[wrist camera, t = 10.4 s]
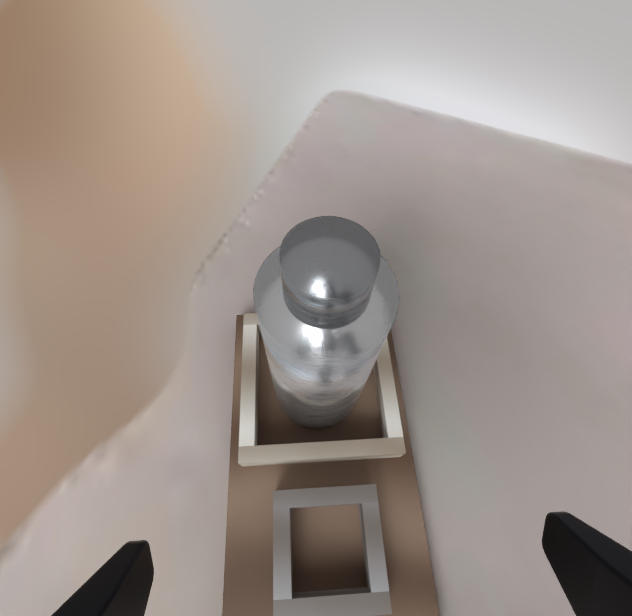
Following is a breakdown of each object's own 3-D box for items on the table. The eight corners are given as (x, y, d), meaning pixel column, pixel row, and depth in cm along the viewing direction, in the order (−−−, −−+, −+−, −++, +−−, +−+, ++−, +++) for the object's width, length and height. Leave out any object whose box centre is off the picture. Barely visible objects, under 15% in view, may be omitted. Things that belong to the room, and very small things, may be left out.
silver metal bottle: (342, 443, 21) (387, 357, 10) (261, 409, 22) (213, 293, 10) (369, 364, 23) (431, 219, 12) (295, 336, 24) (286, 176, 13)
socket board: (437, 631, 18) (454, 647, 16) (224, 649, 17) (212, 668, 15) (384, 315, 26) (391, 297, 24) (239, 322, 26) (232, 303, 23)
